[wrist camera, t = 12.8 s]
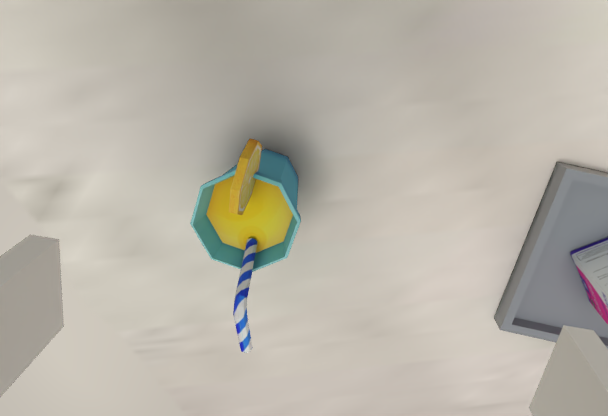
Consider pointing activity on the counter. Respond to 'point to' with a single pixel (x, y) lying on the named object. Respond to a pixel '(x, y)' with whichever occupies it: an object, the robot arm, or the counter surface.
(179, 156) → the counter surface
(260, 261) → the cup
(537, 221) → the tray
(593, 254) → the supplement box
